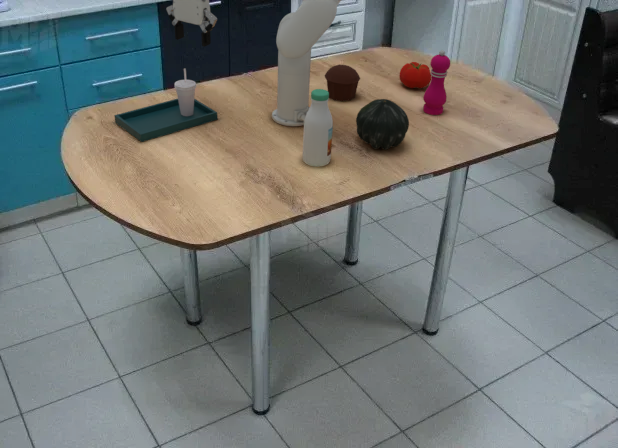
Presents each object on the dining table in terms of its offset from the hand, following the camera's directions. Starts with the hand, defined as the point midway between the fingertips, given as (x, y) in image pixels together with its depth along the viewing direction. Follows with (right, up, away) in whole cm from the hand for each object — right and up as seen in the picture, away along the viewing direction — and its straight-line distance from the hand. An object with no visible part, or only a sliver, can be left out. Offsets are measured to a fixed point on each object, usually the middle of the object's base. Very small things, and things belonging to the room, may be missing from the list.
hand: (192, 41), depth 193 cm
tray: (-9, -22, +7) cm, 25 cm away
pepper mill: (+73, -17, +21) cm, 78 cm away
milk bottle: (+35, -35, -10) cm, 51 cm away
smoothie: (-4, -19, +10) cm, 22 cm away
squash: (+54, -29, 0) cm, 62 cm away
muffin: (+44, -10, +28) cm, 53 cm away
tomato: (+70, -5, +38) cm, 80 cm away
